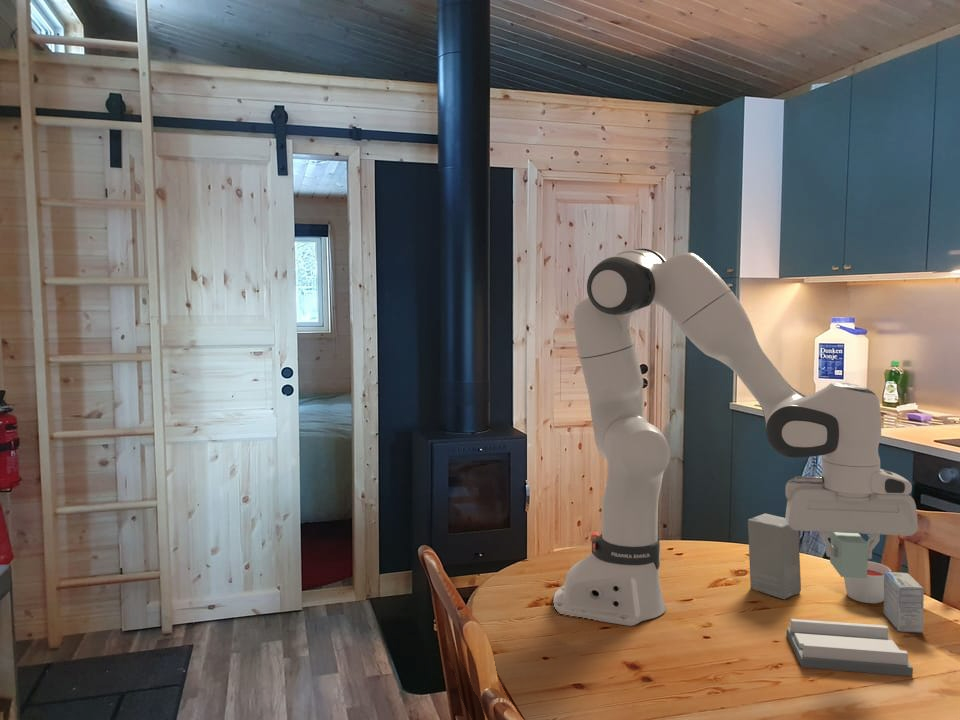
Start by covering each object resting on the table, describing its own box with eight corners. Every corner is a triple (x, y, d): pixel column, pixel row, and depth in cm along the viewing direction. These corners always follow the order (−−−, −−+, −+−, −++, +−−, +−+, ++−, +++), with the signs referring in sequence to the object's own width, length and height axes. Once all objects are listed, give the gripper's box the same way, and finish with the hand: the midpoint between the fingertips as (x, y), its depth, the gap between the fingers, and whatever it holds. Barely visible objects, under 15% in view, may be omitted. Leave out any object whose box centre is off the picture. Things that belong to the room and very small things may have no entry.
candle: (864, 586, 156) (865, 557, 155) (900, 602, 147) (901, 572, 147) (831, 592, 153) (832, 563, 153) (866, 609, 145) (867, 578, 144)
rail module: (841, 576, 122) (842, 542, 121) (830, 562, 129) (830, 529, 128) (867, 578, 121) (868, 543, 121) (854, 563, 128) (855, 530, 127)
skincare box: (801, 593, 152) (803, 520, 151) (781, 602, 148) (782, 526, 147) (765, 581, 159) (767, 510, 158) (745, 588, 155) (746, 516, 154)
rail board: (801, 667, 122) (802, 647, 122) (786, 635, 134) (787, 616, 133) (912, 676, 119) (913, 655, 118) (887, 642, 130) (887, 623, 130)
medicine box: (923, 633, 134) (925, 588, 133) (897, 632, 134) (898, 586, 134) (907, 615, 141) (908, 572, 141) (882, 614, 142) (883, 571, 142)
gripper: (789, 480, 123) (788, 559, 124) (922, 484, 119) (919, 566, 120) (781, 471, 129) (780, 547, 130) (908, 475, 125) (905, 553, 126)
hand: (848, 556), depth 125 cm, fingers closed on rail module, 4 cm apart
